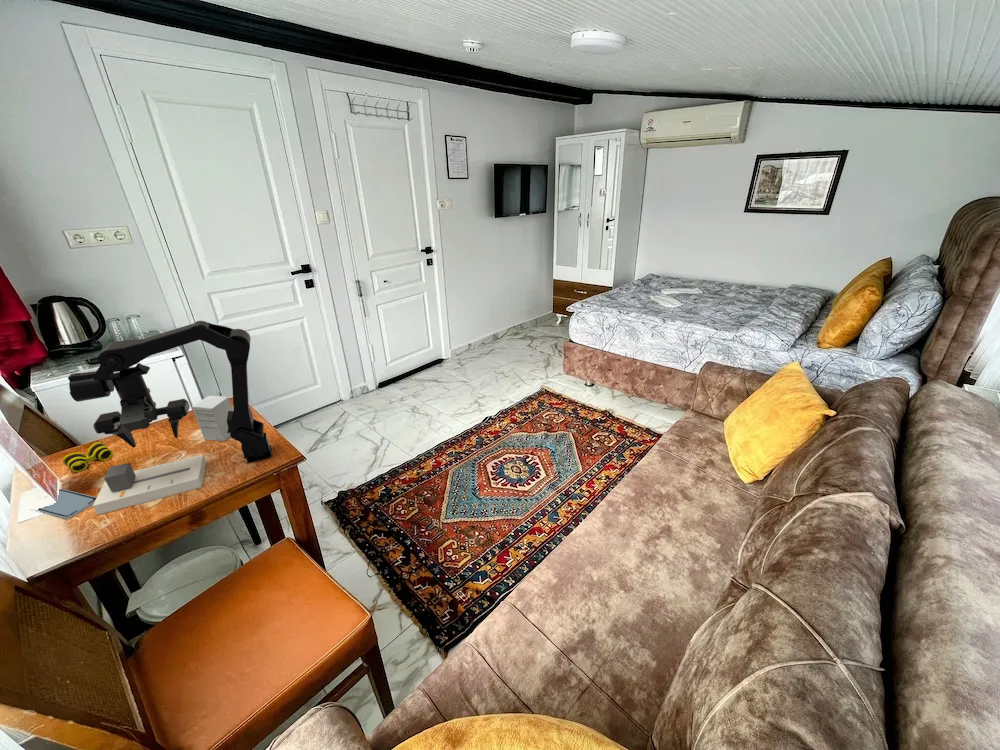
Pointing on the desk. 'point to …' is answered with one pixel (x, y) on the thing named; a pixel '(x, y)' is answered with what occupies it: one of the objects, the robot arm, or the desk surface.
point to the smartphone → (68, 504)
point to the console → (154, 484)
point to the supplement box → (213, 417)
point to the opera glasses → (93, 453)
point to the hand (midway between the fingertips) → (156, 441)
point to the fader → (120, 477)
